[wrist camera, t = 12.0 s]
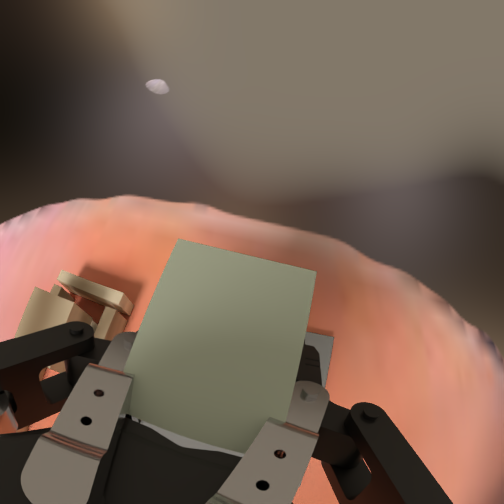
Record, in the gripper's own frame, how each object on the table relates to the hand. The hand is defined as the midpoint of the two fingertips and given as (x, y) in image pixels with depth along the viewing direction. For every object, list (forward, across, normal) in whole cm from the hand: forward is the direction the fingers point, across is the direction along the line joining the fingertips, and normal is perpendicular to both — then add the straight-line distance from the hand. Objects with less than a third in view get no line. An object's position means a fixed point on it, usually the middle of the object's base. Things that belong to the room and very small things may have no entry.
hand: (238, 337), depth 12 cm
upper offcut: (+3, +14, +7) cm, 16 cm away
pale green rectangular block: (+2, 0, +4) cm, 5 cm away
